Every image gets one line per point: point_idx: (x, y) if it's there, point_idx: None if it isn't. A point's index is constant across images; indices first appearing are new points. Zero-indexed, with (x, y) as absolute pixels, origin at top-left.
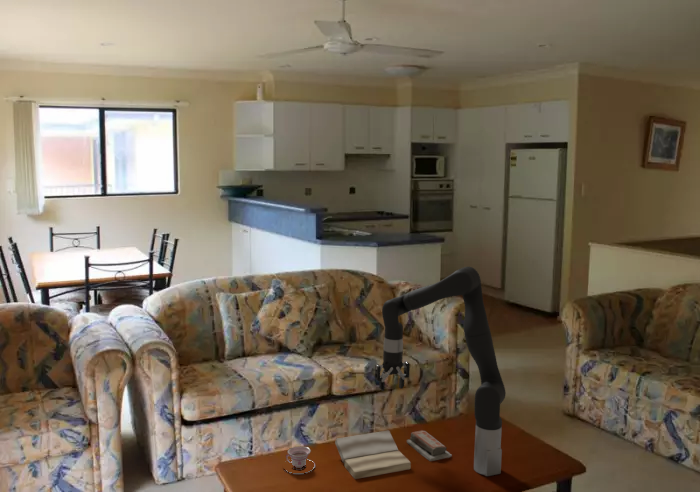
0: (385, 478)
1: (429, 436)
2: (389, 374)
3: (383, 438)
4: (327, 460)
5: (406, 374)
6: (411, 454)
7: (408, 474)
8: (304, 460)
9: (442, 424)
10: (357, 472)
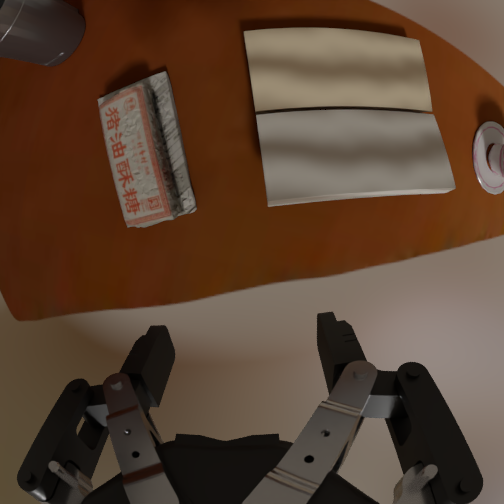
0: (333, 16)
1: (123, 175)
2: (279, 440)
3: (301, 163)
4: None
5: (80, 404)
6: (207, 123)
7: (261, 15)
8: (502, 145)
9: (82, 293)
10: (411, 39)
